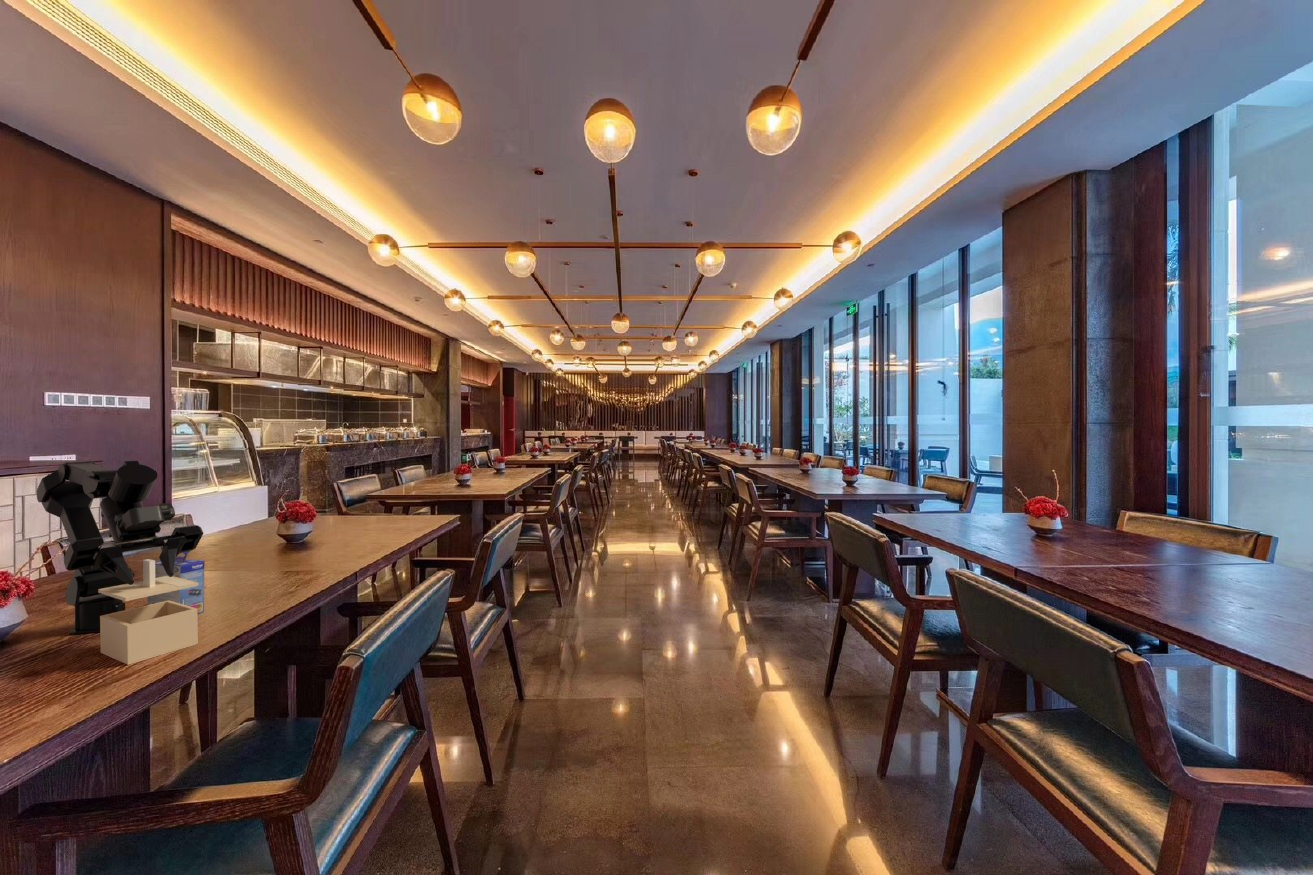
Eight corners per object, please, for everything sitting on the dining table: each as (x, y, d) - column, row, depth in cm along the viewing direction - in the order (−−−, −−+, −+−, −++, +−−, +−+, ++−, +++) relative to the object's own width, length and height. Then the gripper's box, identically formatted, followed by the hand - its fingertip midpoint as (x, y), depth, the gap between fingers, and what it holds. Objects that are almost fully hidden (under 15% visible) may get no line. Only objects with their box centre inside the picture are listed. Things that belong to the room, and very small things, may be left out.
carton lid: (98, 592, 96) (97, 563, 96) (169, 578, 105) (169, 551, 105) (125, 601, 90) (125, 570, 90) (198, 585, 100) (198, 557, 100)
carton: (100, 652, 96) (100, 615, 96) (169, 633, 105) (168, 600, 105) (127, 664, 91) (127, 626, 91) (197, 643, 100) (197, 608, 100)
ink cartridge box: (206, 611, 118) (206, 549, 118) (180, 619, 113) (179, 555, 113) (173, 608, 120) (173, 548, 120) (146, 617, 115) (145, 553, 115)
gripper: (68, 496, 91) (94, 564, 86) (198, 487, 108) (226, 543, 103) (53, 536, 94) (76, 603, 90) (181, 521, 111) (207, 576, 106)
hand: (152, 579), depth 97 cm, fingers open, 5 cm apart
